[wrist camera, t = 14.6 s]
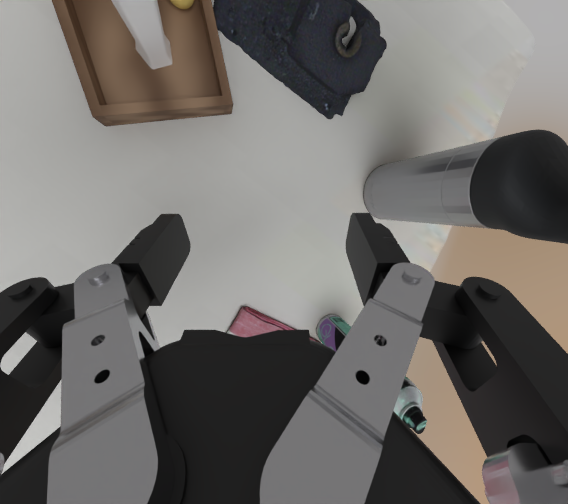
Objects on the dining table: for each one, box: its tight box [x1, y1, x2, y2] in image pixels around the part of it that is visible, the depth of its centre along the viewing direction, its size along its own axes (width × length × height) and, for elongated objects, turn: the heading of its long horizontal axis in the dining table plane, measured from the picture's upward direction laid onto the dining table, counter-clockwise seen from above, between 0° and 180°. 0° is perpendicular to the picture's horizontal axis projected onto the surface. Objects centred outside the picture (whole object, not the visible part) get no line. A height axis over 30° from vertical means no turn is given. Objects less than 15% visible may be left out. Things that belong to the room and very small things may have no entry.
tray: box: [52, 0, 233, 126], centre depth 26 cm, size 15×15×3 cm
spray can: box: [316, 314, 427, 434], centre depth 33 cm, size 6×6×20 cm
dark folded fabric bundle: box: [213, 0, 387, 119], centre depth 30 cm, size 15×22×5 cm
